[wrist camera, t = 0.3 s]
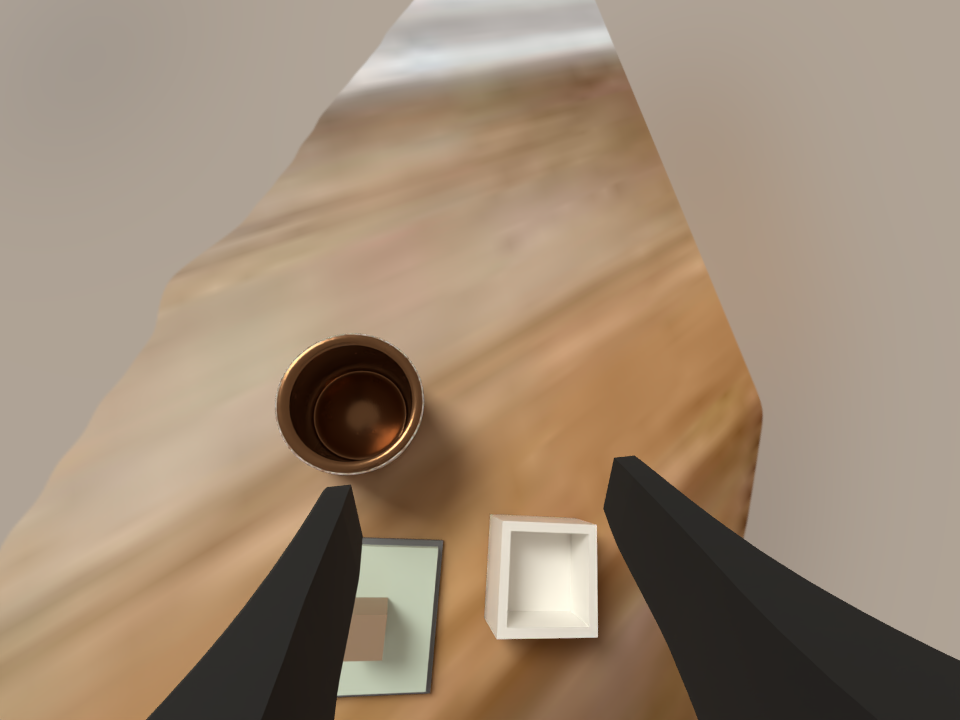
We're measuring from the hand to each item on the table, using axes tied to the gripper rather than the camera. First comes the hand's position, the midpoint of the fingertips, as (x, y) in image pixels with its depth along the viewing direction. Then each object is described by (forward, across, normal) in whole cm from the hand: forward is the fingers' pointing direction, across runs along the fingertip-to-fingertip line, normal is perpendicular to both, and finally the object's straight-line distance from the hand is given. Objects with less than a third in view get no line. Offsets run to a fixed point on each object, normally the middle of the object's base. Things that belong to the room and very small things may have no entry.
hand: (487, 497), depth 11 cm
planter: (+25, +9, +14) cm, 30 cm away
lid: (+13, +8, +27) cm, 31 cm away
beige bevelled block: (+15, -7, +27) cm, 32 cm away
